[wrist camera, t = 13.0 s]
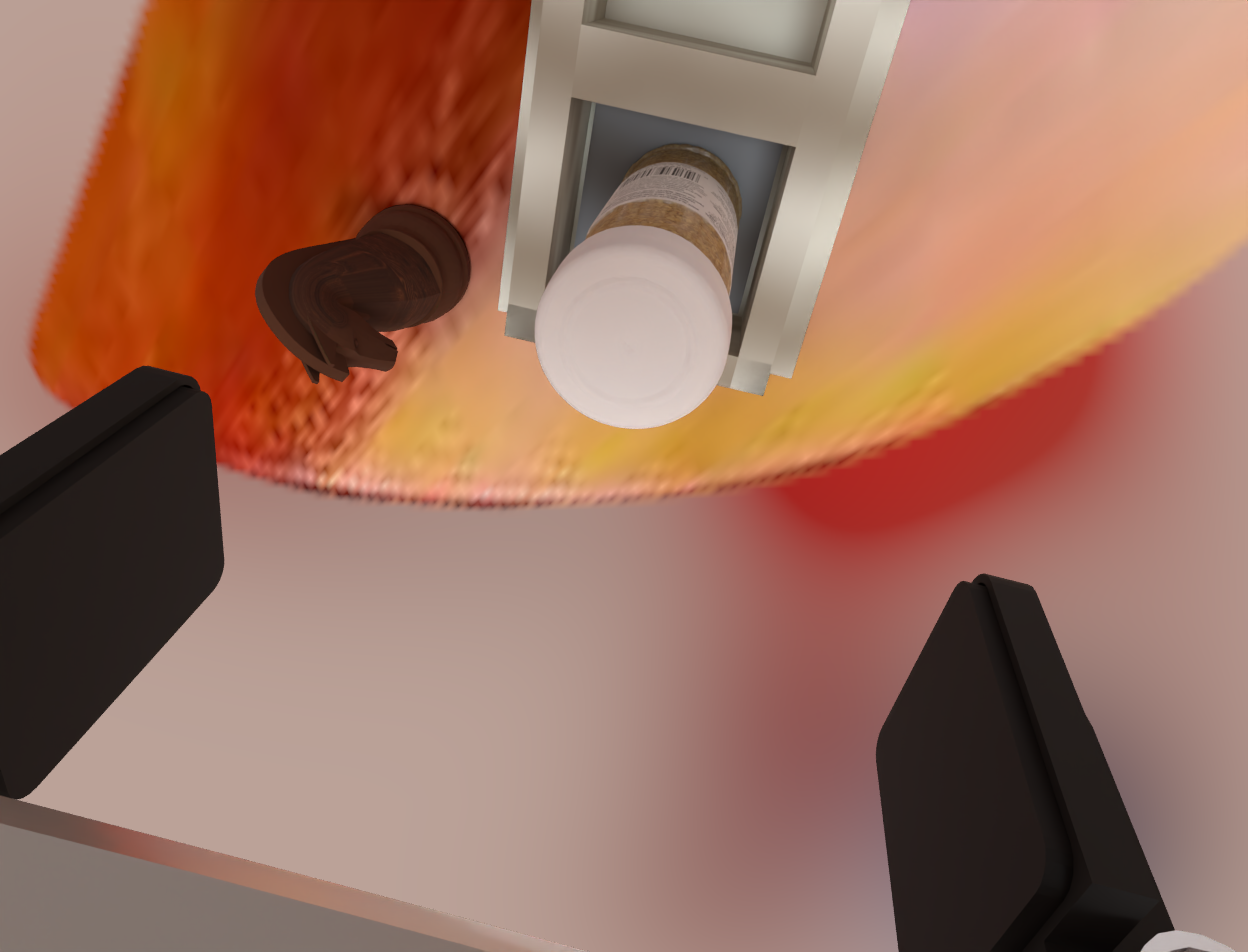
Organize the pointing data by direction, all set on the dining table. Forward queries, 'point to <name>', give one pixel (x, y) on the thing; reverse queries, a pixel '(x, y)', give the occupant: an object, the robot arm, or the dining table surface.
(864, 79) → the slot rack
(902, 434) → the dining table surface
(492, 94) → the dining table surface
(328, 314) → the chess piece
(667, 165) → the sprinkles bottle
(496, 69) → the dining table surface
